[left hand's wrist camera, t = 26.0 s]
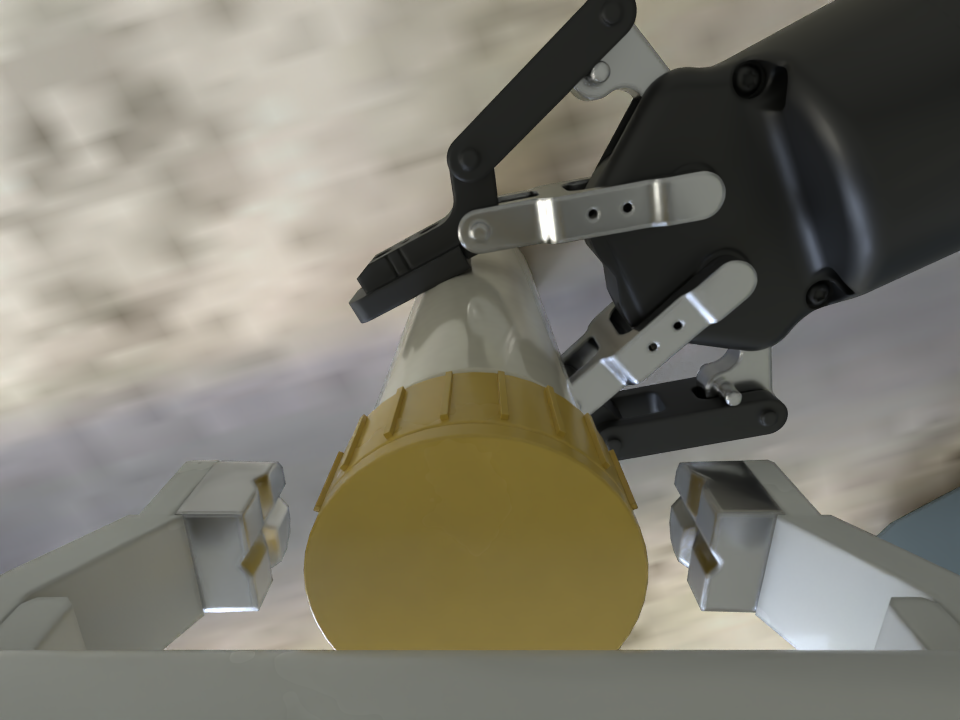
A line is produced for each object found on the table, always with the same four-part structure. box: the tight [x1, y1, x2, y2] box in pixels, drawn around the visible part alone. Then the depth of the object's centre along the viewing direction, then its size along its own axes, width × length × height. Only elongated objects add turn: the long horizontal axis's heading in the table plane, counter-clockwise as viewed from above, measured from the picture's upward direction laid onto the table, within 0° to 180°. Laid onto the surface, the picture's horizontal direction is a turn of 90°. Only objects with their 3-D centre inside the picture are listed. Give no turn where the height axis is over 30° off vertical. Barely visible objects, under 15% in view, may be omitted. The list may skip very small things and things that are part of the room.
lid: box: [304, 371, 648, 650], centre depth 9 cm, size 5×5×2 cm
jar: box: [374, 248, 581, 411], centre depth 17 cm, size 4×4×17 cm
